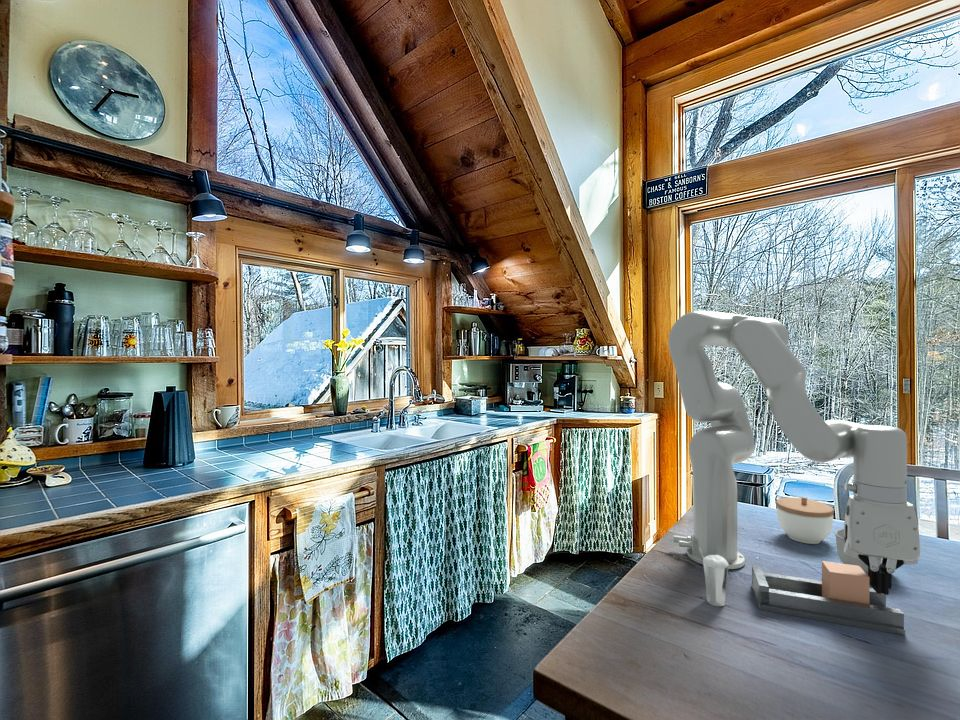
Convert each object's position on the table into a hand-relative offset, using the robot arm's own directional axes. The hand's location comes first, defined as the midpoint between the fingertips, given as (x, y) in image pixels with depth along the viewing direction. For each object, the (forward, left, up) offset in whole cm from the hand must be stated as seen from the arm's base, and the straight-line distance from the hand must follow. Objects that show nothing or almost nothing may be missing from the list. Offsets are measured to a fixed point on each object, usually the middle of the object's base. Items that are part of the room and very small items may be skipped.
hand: (879, 590), depth 86 cm
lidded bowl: (-3, +39, -5) cm, 39 cm away
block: (-5, 0, -4) cm, 7 cm away
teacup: (+6, +24, -5) cm, 25 cm away
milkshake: (-28, -5, -5) cm, 29 cm away
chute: (-9, 0, -5) cm, 10 cm away
